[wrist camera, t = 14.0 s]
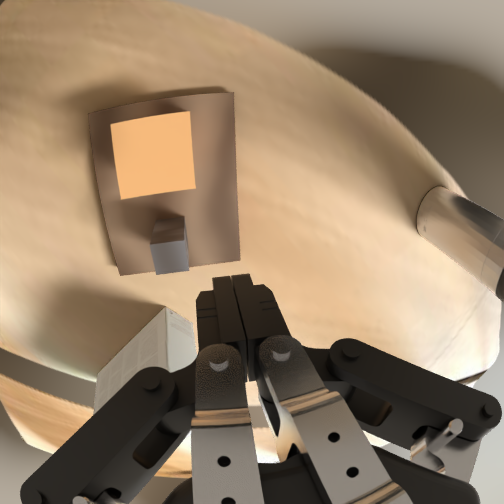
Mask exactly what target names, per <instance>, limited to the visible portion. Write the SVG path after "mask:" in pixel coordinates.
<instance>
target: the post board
mask: <svg viewBox="0 0 504 504" xmlns="http://www.w3.org/2000/svg"><path fill="white" fill-rule="evenodd" d="M187 111H190V121H191V136H192V150H193V163H194V174H195V185H196V189H188V190H180V191H173V192H165V193H159V194H152V195H145V196H139V197H133V198H127V199H121V196H120V190H119V185H118V179H117V172H116V166H115V159H114V151H113V143H112V134H111V124H114V123H119V122H123V121H128V120H133V119H139V118H144V117H150V116H157V115H163V114H170V113H178V112H187ZM89 126H90V136H91V145H92V152H93V160H94V166H95V172H96V178H97V184H98V189H99V195H100V200H101V204H102V209H103V214H104V218H105V222H106V227H107V231H108V235H109V239H110V242H111V246H112V250H113V253H114V257H115V260H116V264H117V267H118V270H119V274H120V276H123V275H131V274H139V273H147V272H155V271H156V275H159V274H167V273H174V272H182V271H189V267H194V266H202V265H210V264H217V263H225V262H233V261H240V241H239V220H238V197H237V173H236V146H235V117H234V92H231V93H211V94H198V95H187V96H178V97H170V98H163V99H156V100H150V101H144V102H138V103H133V104H128V105H123V106H118V107H113V108H109V109H105V110H101V111H97V112H93V113H89Z"/></svg>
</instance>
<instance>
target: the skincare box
mask: <svg viewBox="0 0 504 504" xmlns="http://www.w3.org/2000/svg"><path fill="white" fill-rule="evenodd" d="M196 357H197V353H196V346H195V338H194V330H193V323H192V322H190V321H188V320H187V319H185V318H183V317H182V316H180V315H179V314H177V313H175V312H174V311H172V310H170V309H169V308H167V307H164V308H163V309H162V310H161V311H160V312H159V313H158V314H157V315H156V316H155V317H154V318H153V319H152V320H151V321H150V322H149V323H148V324H147V325H146V326H145V327H144V328H143V329H142V330H141V331H140V332H139V333H138V334H137V335H136V336H135V337H134V338H133V339H132V340H131V341H130V342H129V343H128V344H127V345H126V346H125V347H124V348H123V349H122V350H121V351H120V352H119V353H118V354H117V355H116V356H115V357H114V358H113V359H112V360H111V361H110V362H109V363H108V364H107V365H106V366H105V367H104V368H103V369H102V370H101V371H100V372H99V373H98V374H97V383H96V392H95V393H96V394H95V403H94V414H95V413H96V412H97V411H98V410H99V409H100V408H101V407H102V406H103V405H104V404H105V403H106V402H107V401H108V400H109V399H110V398H111V397H113V396H114V395H115V394H116V393H117V392H118V391H119V390H120V389H121V388H122V387H123V386H124V385H125V384H126V383H127V382H128V381H129V380H130V379H131V378H132V377H133V376H134V375H135V374H136V373H137V372H138V371H140V370H142V369H144V368H147V367H155V366H156V367H161V368H164V369H166V370H168V371H169V372H170V373H171V372H174V371H177V370H180V369H182V368H185V367H187V366H188V365H190V364H191V363H192V362H193V361H194V360H195V359H196ZM94 414H93V415H94ZM190 435H191V431H190V432H189V434H188V435H187V436H190ZM187 436H186V437H187Z"/></svg>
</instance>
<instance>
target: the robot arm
mask: <svg viewBox="0 0 504 504" xmlns="http://www.w3.org/2000/svg"><path fill="white" fill-rule="evenodd" d="M417 230H418V232H419V234H420V235H421V237H423V238H424V239H426V240H427V241H428V242H430V243H431V244H433V245H434V246H435V247H437V248H438V249H439V250H441V251H442V252H443V253H445V254H446V255H447V256H449V257H450V258H451V259H452V260H454V261H455V262H456V263H458V264H459V265H460V266H461V267H463V268H464V269H465V270H466V271H468V272H469V273H470V274H471V275H472V276H474V277H475V278H476V279H477V280H478V281H480V282H481V283H482V284H483V285H484V286H486V287H487V288H488V289H489V290H490V291H491V292H492V293H494V294H495V295H496V296H497V297H498V298H499V299H500V300H501V301H503V302H504V220H503V219H502V218H500V217H498V216H497V215H495V214H493V213H492V212H490V211H488V210H487V209H485V208H483V207H481V206H479V205H477V204H476V203H474V202H472V201H470V200H468V199H466V198H464V197H462V196H461V195H459V194H457V193H455V192H452V191H450V190H448V189H446V188H444V187H441V186H438V187H435V188H433V189H432V190H430V191H429V192H428V193H427V195H426V196H425V197H424V199H423V201H422V202H421V205H420V207H419V210H418V214H417ZM212 281H213V290H211V291H202V292H200V294H199V295H198V297H197V299H196V311H197V312H196V313H197V330H198V344H199V352H198V355H197V357H196V359H195V360H194V361H193V362H192V363H191V364H190V365H188V366H187V367H185V368H182V369H180V370H177V371H174V372H171V373H170V372H169V371H168V370H166V369H164V368H161V367H156V366H155V367H147V368H144V369H142V370H140V371H138V372H137V373H136V374H135V375H134V376H133V377H132V378H131V379H130V380H129V381H128V382H127V383H126V384H125V385H124V386H123V387H122V388H121V389H120V390H119V391H118V392H117V393H116V394H115V395H114V396H113V397H111V398H110V399H109V400H108V401H107V402H106V403H105V404H104V405H103V406H102V407H101V408H100V409H99V410H98V411H97V412H96V413H95V414H94V415H93V416H92V417H91V418H90V419H89V420H88V421H87V422H86V423H85V424H84V425H83V426H82V427H81V428H80V429H79V430H78V431H77V432H76V433H75V434H74V435H73V436H72V437H71V438H69V439H68V440H67V441H66V442H65V443H64V444H63V445H62V446H61V447H60V448H59V449H58V450H57V451H56V452H55V453H54V454H53V455H52V456H51V457H50V458H49V459H48V460H47V461H46V462H45V463H44V464H43V465H42V466H41V467H40V468H39V469H37V470H36V471H35V472H34V473H33V474H32V475H31V476H30V477H29V478H28V479H27V480H26V481H25V482H24V483H23V485H22V487H21V491H20V497H21V501H22V504H129V503H130V502H131V501H132V500H133V498H134V497H135V496H136V495H137V494H138V493H139V492H140V491H141V490H142V488H143V487H144V486H145V485H146V484H147V483H148V482H149V480H150V479H151V478H152V477H153V476H154V475H155V474H156V472H157V471H158V470H159V469H160V468H161V467H162V465H163V464H164V463H165V462H166V461H167V459H168V458H169V457H170V456H171V455H172V453H173V452H174V451H175V450H176V448H177V447H178V446H179V445H180V444H181V442H182V441H183V440H184V439H185V437H186V436H187V435H188V434H189V432H190V431H191V455H192V477H191V478H189V479H187V480H186V481H184V482H183V483H181V484H180V485H178V486H177V487H176V488H175V489H174V490H173V491H172V492H171V493H170V494H169V496H168V497H167V498H166V500H165V501H164V502H163V503H162V504H480V499H479V495H478V493H477V491H476V490H475V488H474V487H473V486H472V485H470V484H469V481H470V477H471V474H472V472H473V468H474V465H475V461H476V458H477V455H478V451H479V447H480V442H481V439H482V438H483V437H484V436H485V435H486V434H487V433H489V432H490V431H491V430H492V429H493V428H494V427H496V426H497V425H498V423H499V422H500V420H501V416H502V410H501V406H500V404H499V402H498V400H497V399H496V398H495V397H493V396H491V395H489V394H486V393H484V392H481V391H478V390H476V389H473V388H471V387H468V386H465V385H463V384H460V383H458V382H455V381H453V380H450V379H448V378H445V377H443V376H440V375H438V374H435V373H433V372H430V371H428V370H426V369H423V368H421V367H418V366H416V365H414V364H411V363H409V362H407V361H404V360H402V359H400V358H397V357H395V356H393V355H390V354H388V353H386V352H383V351H381V350H379V349H377V348H374V347H372V346H370V345H368V344H365V343H363V342H361V341H359V340H356V339H351V338H345V339H340V340H338V341H336V342H335V343H333V344H332V346H331V348H330V349H316V348H308V347H305V346H302V345H301V343H300V342H299V341H298V340H296V339H295V338H293V337H292V336H291V334H290V332H289V330H288V327H287V325H286V323H285V320H284V318H283V316H282V314H281V311H280V309H279V307H278V304H277V302H276V300H275V297H274V295H273V293H272V291H271V290H270V289H269V288H268V287H266V286H265V285H264V284H261V285H253V282H252V280H251V277H250V274H241V275H232V276H231V277H230V276H224V277H215V278H212ZM247 374H248V378H249V382H250V381H256V382H257V386H258V397H259V401H260V403H261V406H262V408H263V411H264V414H265V417H266V419H267V422H268V425H269V427H270V430H271V432H272V435H273V438H274V441H275V445H276V451H277V454H278V458H279V460H280V463H258V462H257V456H256V450H255V443H254V437H253V430H252V423H251V417H250V413H249V409H248V402H247V395H246V387H245V382H247ZM362 430H364V431H366V432H368V433H370V434H373V435H375V436H377V437H379V438H381V439H384V440H386V441H388V442H391V443H393V444H396V445H398V446H401V447H403V448H405V449H408V450H410V453H411V456H410V461H408V460H406V459H404V458H401V457H399V456H397V455H395V454H393V453H390V452H388V451H386V450H384V449H382V448H380V447H377V446H374V445H371V444H370V443H369V441H368V439H367V438H366V436H365V434H364V432H363V431H362Z"/></svg>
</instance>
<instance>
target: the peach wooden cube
mask: <svg viewBox="0 0 504 504" xmlns="http://www.w3.org/2000/svg"><path fill="white" fill-rule="evenodd" d="M111 134H112V143H113V151H114V159H115V166H116V172H117V179H118V185H119V190H120V196H121V199H127V198H133V197H139V196H145V195H152V194H159V193H165V192H173V191H180V190H188V189H196V185H195V174H194V163H193V150H192V136H191V121H190V111H187V112H178V113H170V114H163V115H157V116H150V117H144V118H139V119H133V120H128V121H123V122H119V123H114V124H111Z"/></svg>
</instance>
